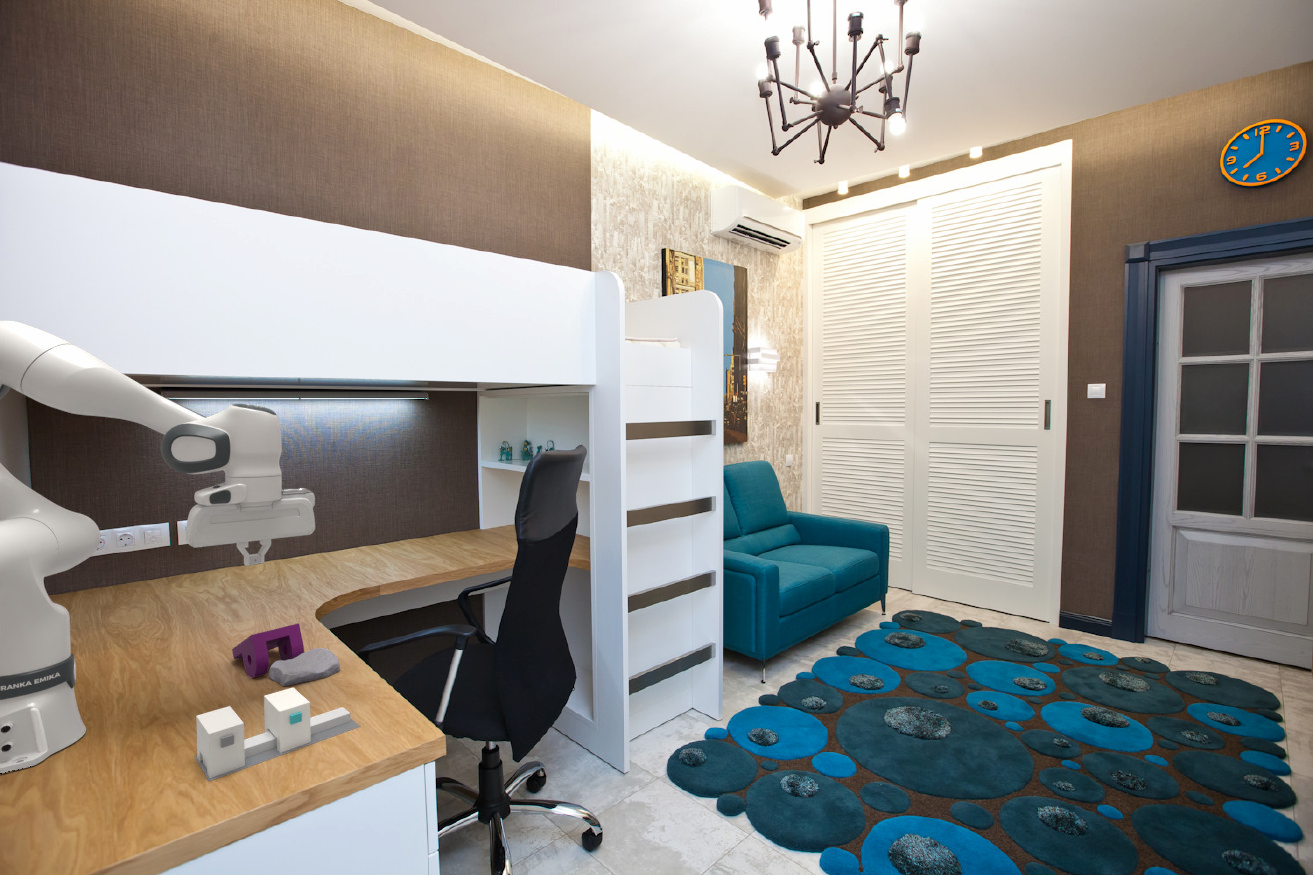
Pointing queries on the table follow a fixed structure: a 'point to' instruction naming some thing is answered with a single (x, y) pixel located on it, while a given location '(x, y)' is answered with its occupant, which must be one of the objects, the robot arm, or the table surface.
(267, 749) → the rail plate
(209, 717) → the white grey-marked block
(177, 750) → the table surface
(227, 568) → the table surface
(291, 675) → the stone block
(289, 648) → the mounting bracket
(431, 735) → the table surface
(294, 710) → the block
